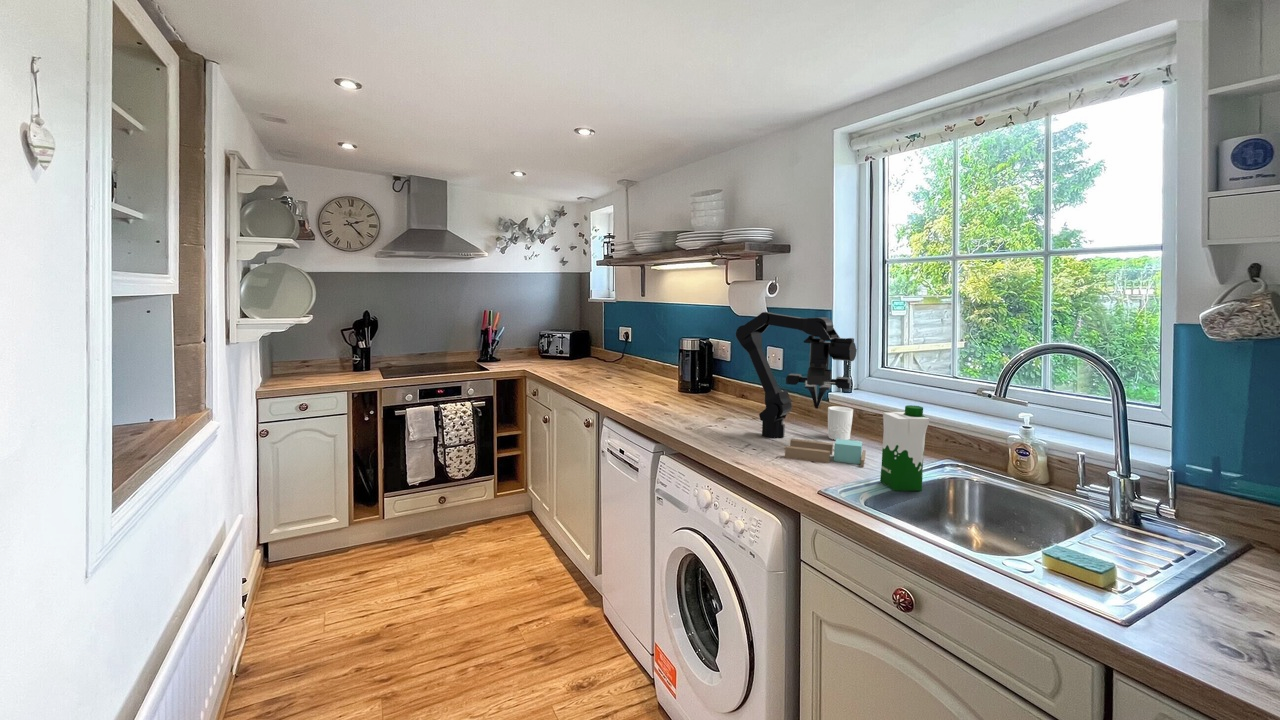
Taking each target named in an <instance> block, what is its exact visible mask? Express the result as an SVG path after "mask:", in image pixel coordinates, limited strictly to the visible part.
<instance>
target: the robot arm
mask: <svg viewBox="0 0 1280 720" xmlns="http://www.w3.org/2000/svg"><path fill="white" fill-rule="evenodd" d="M769 326H774V327H781V328H787V329H791V330H792V329H793V330H799V331H801V332H803V333H805V334H808V337H807V338H806V339H804V340H803V343H805V344H809V345H810V347H809V348H810V349H809V365H808V370H807V374H806V376H802V374H800V373H789V374H788V375H786V376H785V377H786V378H785V384H786V385H792V386H793V385H794V386H795V385H797V384H799V383H804V384H805V385H804V389H808V391H809V393H810V395H811V398H812V402H813V405H814V408H815V409H816V410H818V409H819V407H820V405H821V402H822V400H823V398H824V395H825V393H826V392H827V391H829V390H830V389H832V386H836V388H837V389H845V390H847V389H849V390H850V388H851V385H852V379H851V378H850V377H849V376H848V377H847V376H837V377H836V378H832V374H833V373H832V371H833V370H832V369H829V368H830V367H829V364H830V357H831V358H832V359H833V360H835V361H846V362H853V361H854V360H855V359H856V356H857V346H856V343H855V338H854V337H849V338H843V337H840V335H839V334H838V332H837V331H836V329H835V328H834V323H833V321H832V320H831V318H829V317H826V316H825V317H800V316H793V315H786V314H780V313H773V312H771V311H764V312H760V313H759V314H758V315H757V316H756V317H754V318H753V319H751V320H749V321H748V322H747V323H745V324H743V325H740V326H738V327H737V329H736V332H735V338H736V339H737V341H738V343H739V344H740V346H741V347H742V348H743V350H745V351H746V352H747V353H748V355H749V357H750V361H751V362H752V365H753V367H754V370H755V372H756V374H757V377H758V379H759V381H760V384H761V386H762V389H763V391H764V404H765V408H764V409H763V410H762V411H761V412H760V413H759V414H758V416H759V419H760V421H762V422H761V423H762V425H761V428H762V430H761V437H764V438H767V439H768V438H769V439H783V438H785V433H786V432H785V430H786V424H784V419H786V417H787V416H788V414H789V413H790V412H791V410H792V409H793V407H792V406H793V405H792V403H793V400H792V399H791V398H790V395H789V392H788V390H787V389H786V390H782V389H781V388H780V387H779V384H778V382H777V380H776V377H775V376H774V373H773V370H772V369H771V366H770V363H769V362H768V359H767V357H766V355H765V352H764V349H763V337H762V333H763V334H764V332H765V331H766V330H767V329H768V328H769ZM819 386H820V387H819ZM818 387H819V388H818Z"/></svg>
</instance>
